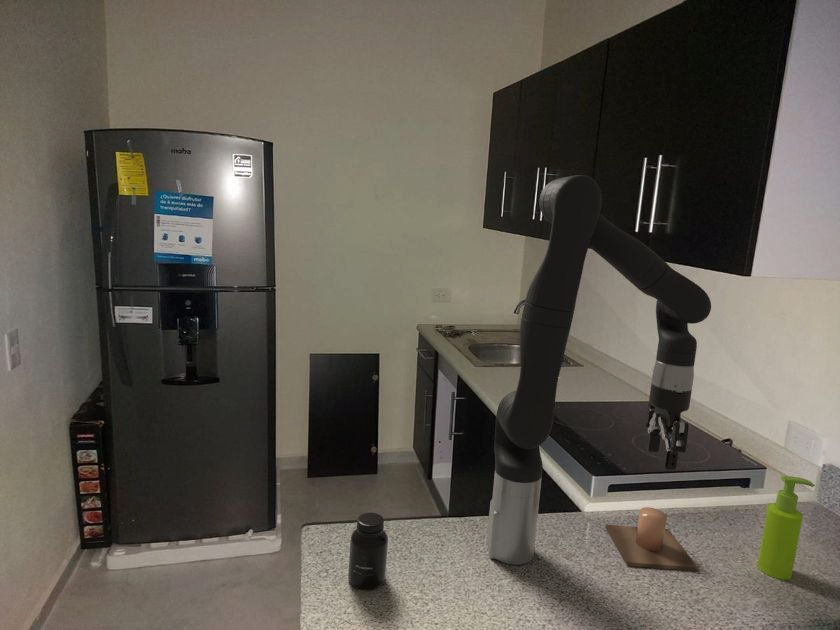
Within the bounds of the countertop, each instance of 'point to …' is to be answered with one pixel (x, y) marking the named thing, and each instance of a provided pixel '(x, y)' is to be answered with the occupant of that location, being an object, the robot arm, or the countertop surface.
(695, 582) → the countertop surface
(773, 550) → the soap dispenser
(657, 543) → the spice jar
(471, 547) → the countertop surface
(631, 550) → the mat
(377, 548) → the supplement bottle
